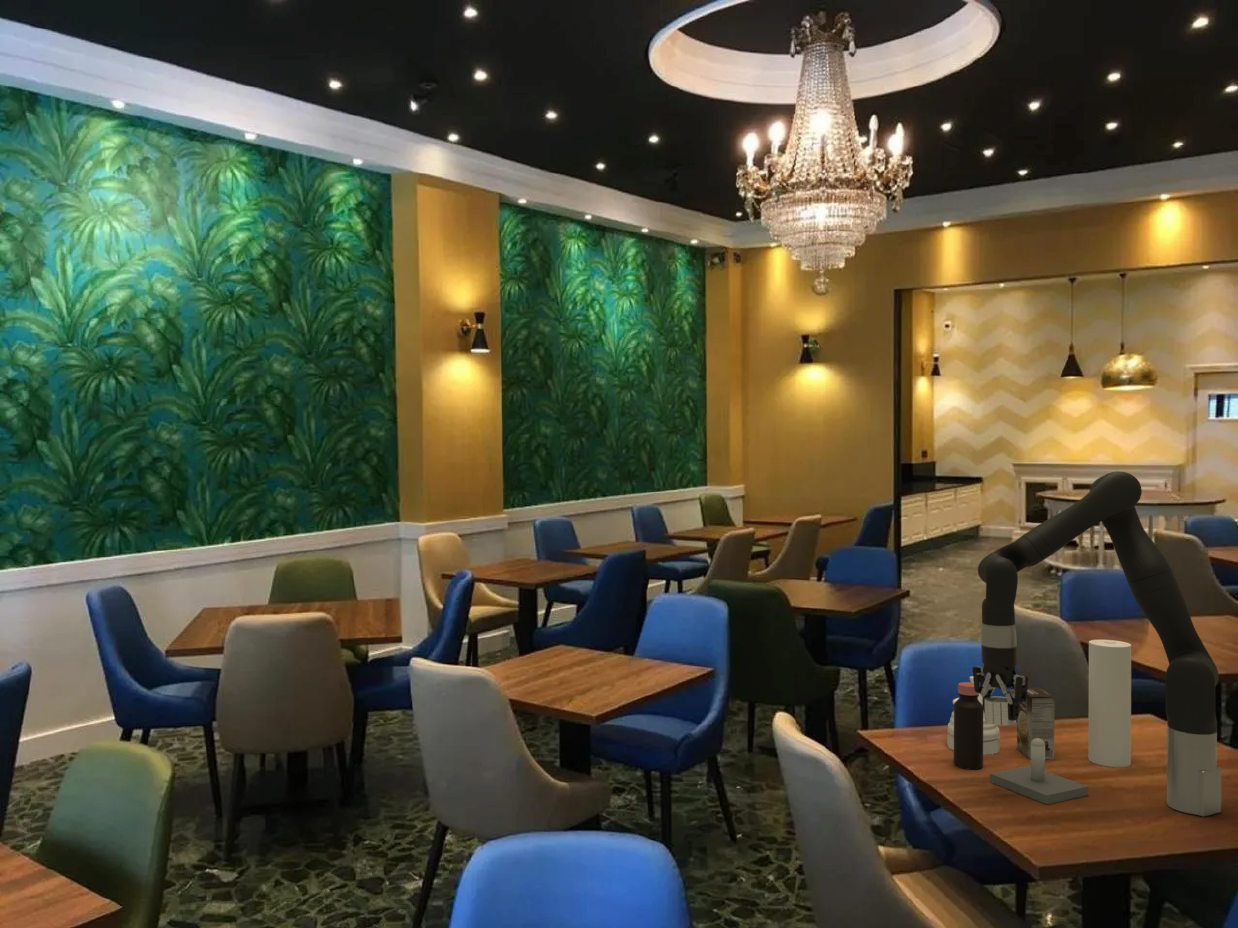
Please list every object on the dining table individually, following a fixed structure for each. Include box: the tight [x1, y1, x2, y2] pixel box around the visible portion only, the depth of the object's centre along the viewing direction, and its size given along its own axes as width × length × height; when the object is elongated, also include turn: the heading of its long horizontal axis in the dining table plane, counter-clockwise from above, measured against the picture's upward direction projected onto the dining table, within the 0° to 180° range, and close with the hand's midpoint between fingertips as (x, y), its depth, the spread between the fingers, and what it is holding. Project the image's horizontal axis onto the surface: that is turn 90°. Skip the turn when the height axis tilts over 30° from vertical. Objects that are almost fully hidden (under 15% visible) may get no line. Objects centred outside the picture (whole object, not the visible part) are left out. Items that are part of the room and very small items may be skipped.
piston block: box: [989, 738, 1089, 805], centre depth 219 cm, size 16×13×12 cm
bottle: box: [953, 681, 984, 770], centre depth 235 cm, size 7×7×20 cm
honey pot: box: [946, 675, 1001, 756], centre depth 249 cm, size 13×13×18 cm
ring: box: [985, 695, 1017, 726], centre depth 218 cm, size 6×6×5 cm
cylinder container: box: [1087, 639, 1132, 768], centre depth 238 cm, size 9×9×30 cm
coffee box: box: [1016, 687, 1056, 760], centre depth 243 cm, size 9×6×16 cm
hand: (1000, 716), depth 218 cm, fingers closed on ring, 6 cm apart
